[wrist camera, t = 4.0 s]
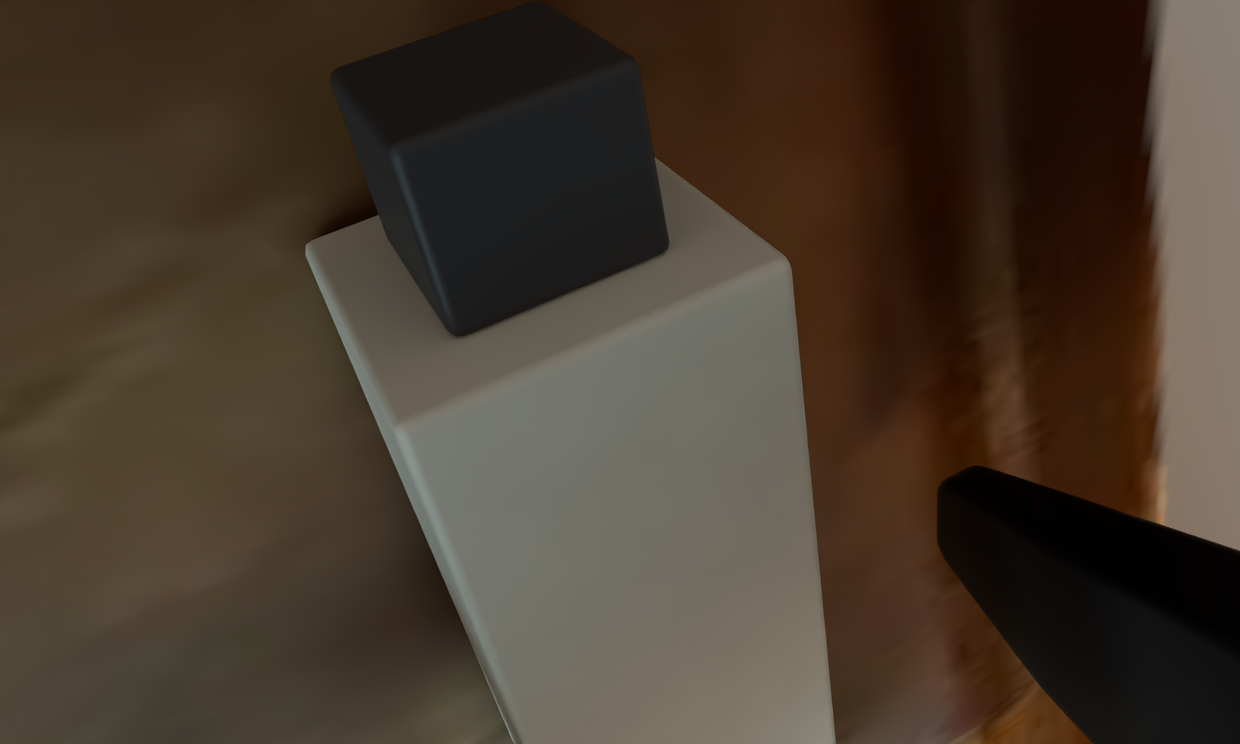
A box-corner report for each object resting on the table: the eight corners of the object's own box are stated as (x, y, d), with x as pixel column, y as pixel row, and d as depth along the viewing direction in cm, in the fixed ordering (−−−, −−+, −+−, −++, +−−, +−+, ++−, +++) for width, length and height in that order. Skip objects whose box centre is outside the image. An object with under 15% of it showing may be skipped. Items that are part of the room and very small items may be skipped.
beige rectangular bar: (588, -48, 7) (798, 53, 5) (755, 822, 14) (871, 1002, 12) (219, 74, 6) (300, 240, 4) (584, 920, 13) (677, 1129, 11)
